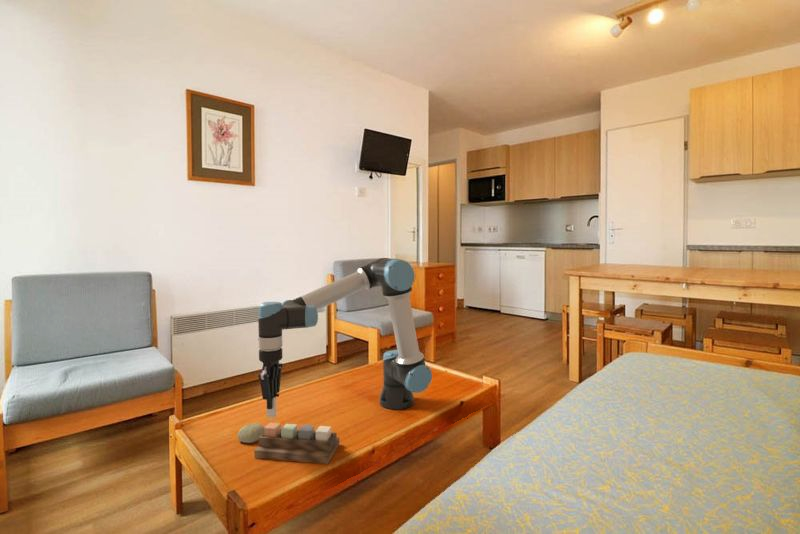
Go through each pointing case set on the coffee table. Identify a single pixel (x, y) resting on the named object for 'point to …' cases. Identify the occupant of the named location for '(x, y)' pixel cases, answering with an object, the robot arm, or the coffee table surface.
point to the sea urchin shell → (250, 433)
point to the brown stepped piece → (297, 448)
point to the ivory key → (323, 433)
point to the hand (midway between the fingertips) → (271, 416)
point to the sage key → (289, 431)
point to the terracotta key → (272, 430)
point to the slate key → (306, 432)
